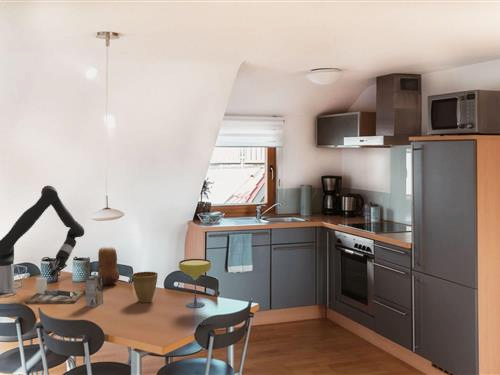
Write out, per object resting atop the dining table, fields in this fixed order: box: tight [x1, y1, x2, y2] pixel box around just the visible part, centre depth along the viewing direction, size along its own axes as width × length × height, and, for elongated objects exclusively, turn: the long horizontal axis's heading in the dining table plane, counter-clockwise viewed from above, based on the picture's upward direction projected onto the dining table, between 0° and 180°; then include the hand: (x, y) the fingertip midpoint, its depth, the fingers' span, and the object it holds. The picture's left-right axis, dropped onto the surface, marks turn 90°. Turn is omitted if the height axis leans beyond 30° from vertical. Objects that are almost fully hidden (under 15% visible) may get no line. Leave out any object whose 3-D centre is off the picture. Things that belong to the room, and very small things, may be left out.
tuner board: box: [25, 290, 85, 305], centre depth 325 cm, size 28×20×3 cm
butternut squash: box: [97, 246, 120, 286], centre depth 357 cm, size 14×13×25 cm
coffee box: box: [84, 274, 104, 308], centre depth 312 cm, size 9×6×16 cm
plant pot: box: [131, 271, 159, 303], centre depth 319 cm, size 15×15×16 cm
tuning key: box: [35, 276, 71, 297], centre depth 325 cm, size 24×4×9 cm, turn 67°
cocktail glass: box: [178, 258, 212, 309], centre depth 310 cm, size 18×18×25 cm
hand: (51, 276), depth 336 cm, fingers closed
